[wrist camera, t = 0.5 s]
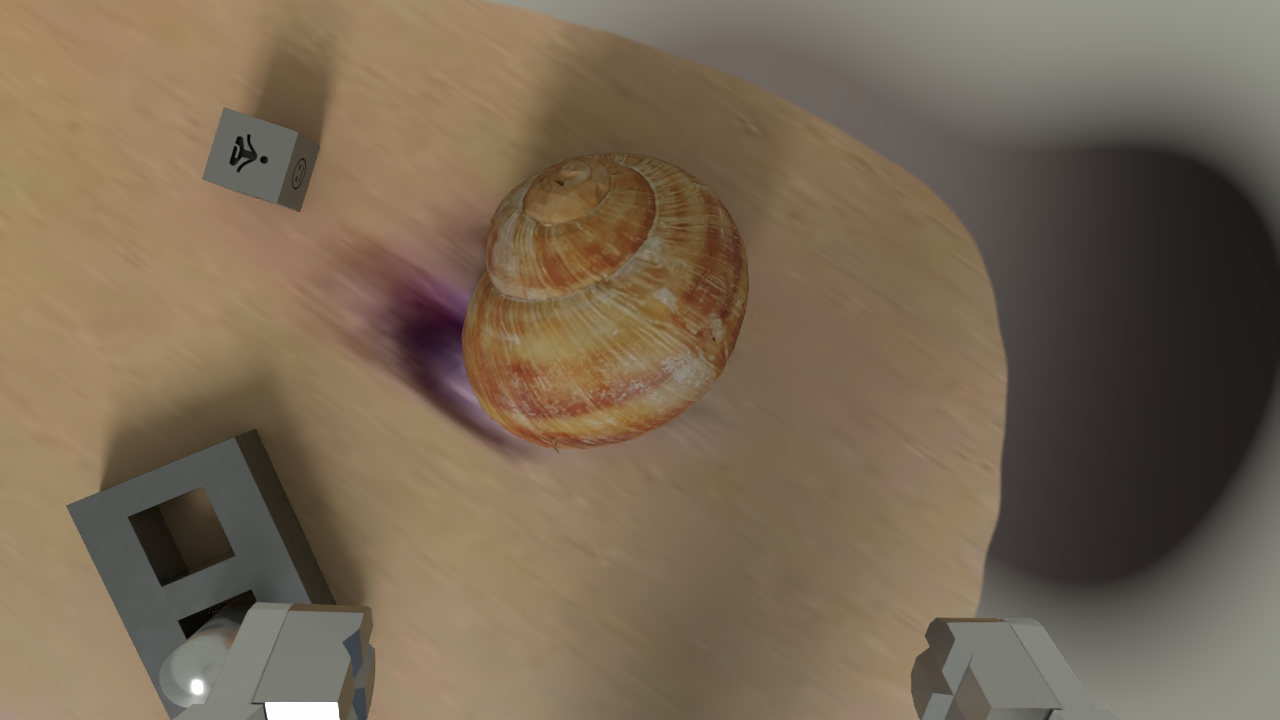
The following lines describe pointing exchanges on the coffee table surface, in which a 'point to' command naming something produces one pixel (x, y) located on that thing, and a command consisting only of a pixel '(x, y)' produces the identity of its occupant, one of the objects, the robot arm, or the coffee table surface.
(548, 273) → the seashell
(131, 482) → the jig
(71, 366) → the coffee table surface
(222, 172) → the dice cube
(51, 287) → the coffee table surface
